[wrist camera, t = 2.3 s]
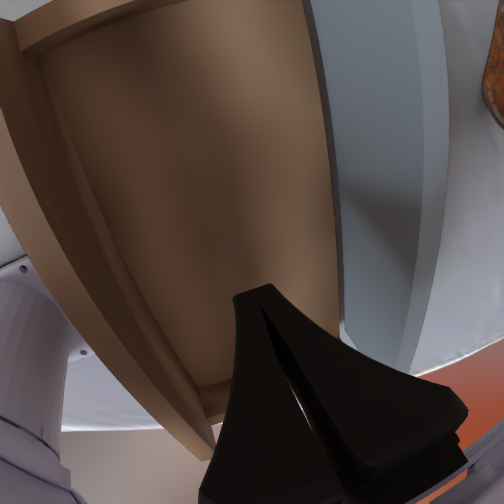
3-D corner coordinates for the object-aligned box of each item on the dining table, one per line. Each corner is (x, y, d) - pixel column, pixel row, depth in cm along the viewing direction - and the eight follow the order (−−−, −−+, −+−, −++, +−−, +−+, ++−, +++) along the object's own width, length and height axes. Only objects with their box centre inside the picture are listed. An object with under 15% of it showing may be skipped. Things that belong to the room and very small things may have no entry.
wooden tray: (184, 379, 23) (201, 461, 17) (30, 45, 9) (-53, 37, 4) (328, 329, 24) (371, 399, 18) (275, -27, 11) (357, -75, 5)
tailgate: (344, 329, 21) (387, 395, 17) (309, -3, 10) (403, -30, 5) (364, 321, 22) (409, 383, 17) (341, -3, 10) (441, -21, 5)
